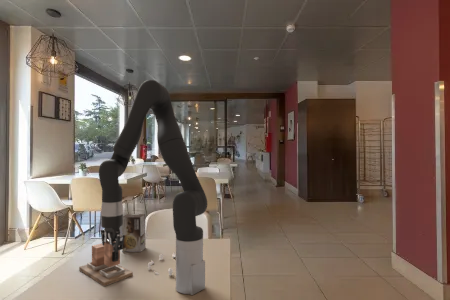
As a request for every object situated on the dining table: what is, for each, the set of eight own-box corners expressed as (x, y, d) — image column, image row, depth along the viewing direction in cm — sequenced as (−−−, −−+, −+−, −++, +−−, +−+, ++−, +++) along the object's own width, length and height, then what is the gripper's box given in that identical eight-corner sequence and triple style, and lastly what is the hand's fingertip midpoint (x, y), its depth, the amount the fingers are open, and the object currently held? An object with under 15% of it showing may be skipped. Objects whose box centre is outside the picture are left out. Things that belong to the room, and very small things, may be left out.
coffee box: (146, 247, 138) (146, 213, 138) (140, 252, 131) (140, 217, 131) (127, 246, 139) (127, 213, 138) (121, 251, 132) (121, 216, 132)
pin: (119, 263, 107) (120, 242, 107) (109, 267, 104) (109, 245, 104) (114, 261, 109) (114, 240, 109) (104, 264, 106) (104, 242, 106)
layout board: (132, 275, 108) (132, 250, 107) (104, 286, 99) (104, 259, 99) (106, 261, 121) (106, 239, 120) (79, 269, 112) (79, 246, 112)
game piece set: (188, 279, 105) (188, 269, 105) (137, 274, 109) (137, 264, 109) (202, 259, 124) (202, 250, 124) (159, 255, 128) (159, 247, 128)
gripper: (131, 214, 105) (131, 261, 105) (112, 208, 114) (112, 252, 114) (112, 218, 99) (112, 268, 99) (93, 212, 108) (93, 257, 108)
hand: (112, 259), depth 107 cm, fingers closed on pin, 4 cm apart
